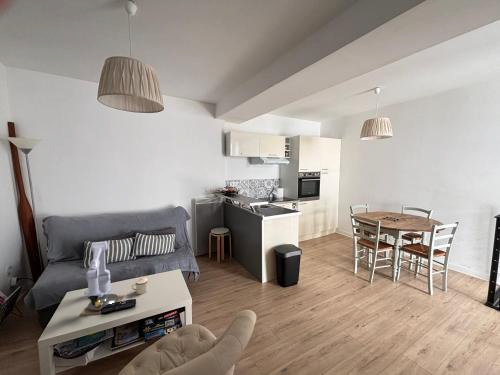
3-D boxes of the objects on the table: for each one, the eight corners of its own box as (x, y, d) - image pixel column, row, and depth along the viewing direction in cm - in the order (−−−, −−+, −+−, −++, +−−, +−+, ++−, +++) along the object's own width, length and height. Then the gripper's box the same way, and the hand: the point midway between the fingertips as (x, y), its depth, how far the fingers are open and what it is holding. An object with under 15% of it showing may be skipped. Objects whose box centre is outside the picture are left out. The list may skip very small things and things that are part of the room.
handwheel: (82, 307, 147) (82, 299, 147) (108, 294, 164) (107, 286, 163) (98, 314, 140) (98, 305, 140) (123, 299, 157) (123, 291, 157)
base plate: (97, 298, 161) (97, 296, 161) (124, 296, 163) (124, 294, 163) (79, 315, 141) (79, 314, 141) (110, 313, 144) (110, 311, 144)
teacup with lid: (148, 287, 176) (148, 274, 175) (148, 292, 168) (147, 279, 167) (132, 290, 171) (132, 277, 171) (131, 296, 163) (130, 282, 162)
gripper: (79, 288, 142) (80, 306, 143) (96, 290, 139) (97, 309, 140) (89, 282, 149) (90, 300, 150) (105, 285, 146) (106, 303, 147)
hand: (94, 304), depth 145 cm, fingers closed
